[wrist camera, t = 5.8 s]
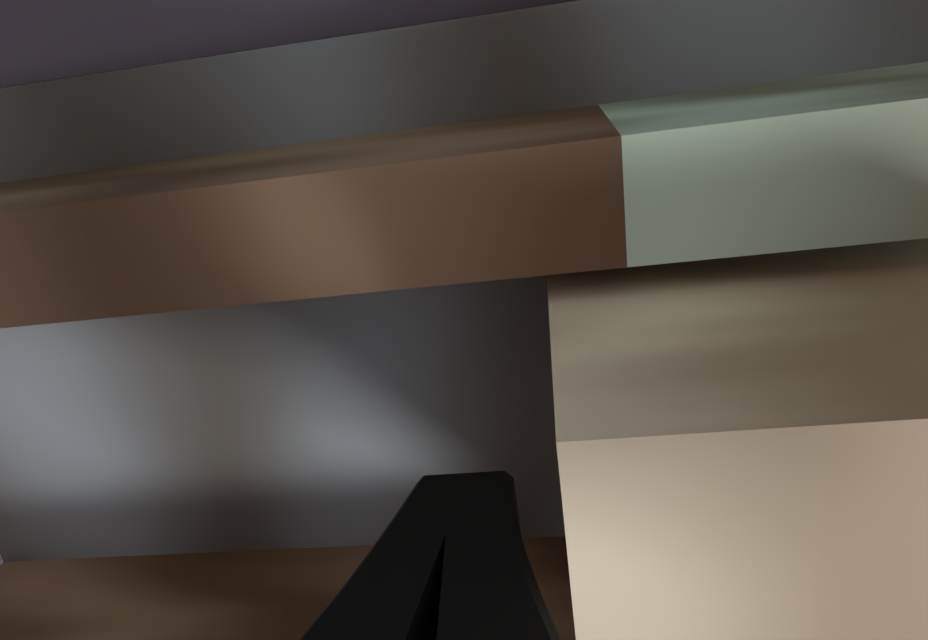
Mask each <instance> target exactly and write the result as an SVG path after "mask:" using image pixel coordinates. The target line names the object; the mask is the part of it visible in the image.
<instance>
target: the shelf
mask: <svg viewBox="0 0 928 640" xmlns="http://www.w3.org/2000/svg"><path fill="white" fill-rule="evenodd" d="M924 238H928V0H577V1H571V2H564V3H558V4H551V5H544V6H538V7H531V8H525V9H518V10H511V11H505V12H498V13H492V14H485V15H478V16H472V17H465V18H459V19H452V20H445V21H439V22H432V23H426V24H419V25H413V26H406V27H399V28H393V29H386V30H380V31H373V32H366V33H360V34H353V35H347V36H340V37H333V38H327V39H320V40H314V41H307V42H300V43H294V44H287V45H281V46H274V47H267V48H261V49H254V50H248V51H241V52H234V53H228V54H221V55H215V56H208V57H202V58H195V59H188V60H182V61H175V62H169V63H162V64H155V65H149V66H142V67H136V68H129V69H122V70H116V71H109V72H103V73H96V74H89V75H83V76H76V77H70V78H63V79H56V80H50V81H43V82H37V83H30V84H24V85H17V86H10V87H4V88H0V554H1V556H2V558H3V560H4V562H3V563H2V564H1V565H0V640H299V639H300V638H301V637H302V636H303V634H304V633H305V632H306V631H307V630H308V628H309V627H310V626H311V625H312V624H313V622H314V621H315V620H316V619H317V618H318V617H319V615H320V614H321V613H322V612H323V611H324V609H325V608H326V607H327V606H328V605H329V603H330V602H331V601H332V600H333V599H334V597H335V596H336V595H337V593H338V592H339V591H340V590H341V588H342V587H343V586H344V584H345V583H346V582H347V581H348V579H349V578H350V577H351V575H352V574H353V573H354V571H355V570H356V569H357V567H358V566H359V565H360V563H361V562H362V561H363V559H364V558H365V557H366V555H367V554H368V553H369V551H370V550H371V549H372V547H373V546H374V545H375V543H376V542H377V540H378V539H379V537H380V536H381V535H382V533H383V532H384V530H385V529H386V528H387V526H388V525H389V523H390V522H391V520H392V519H393V518H394V516H395V515H396V513H397V512H398V510H399V509H400V507H401V506H402V504H403V503H404V501H405V500H406V499H407V497H408V496H409V494H410V493H411V491H412V490H413V488H414V487H415V485H416V484H417V482H418V481H419V480H420V479H421V478H422V477H423V476H424V475H440V474H457V473H474V472H491V471H506V472H507V473H508V474H510V475H511V476H512V477H513V478H514V484H515V492H516V499H517V507H518V514H519V522H520V529H521V537H522V541H523V544H524V547H525V550H526V553H527V556H528V559H529V562H530V565H531V567H532V570H533V573H534V576H535V578H536V581H537V584H538V587H539V590H540V592H541V595H542V597H543V600H544V602H545V605H546V607H547V609H548V612H549V614H550V617H551V619H552V621H553V623H554V625H555V628H556V630H557V632H558V634H559V637H560V639H561V640H576V637H575V627H574V617H573V607H572V597H571V587H570V577H569V566H568V556H567V546H566V536H565V526H564V516H563V506H562V496H561V486H560V476H559V466H558V456H557V446H556V431H555V414H554V396H553V378H552V360H551V343H550V325H549V307H548V289H547V275H554V274H564V273H575V272H585V271H595V270H605V269H616V268H626V267H636V266H647V265H657V264H667V263H677V262H688V261H698V260H708V259H718V258H729V257H739V256H749V255H759V254H770V253H780V252H790V251H800V250H811V249H821V248H831V247H841V246H852V245H862V244H872V243H882V242H893V241H903V240H913V239H924Z"/></svg>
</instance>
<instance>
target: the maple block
mask: <svg viewBox="0 0 928 640" xmlns="http://www.w3.org/2000/svg"><path fill="white" fill-rule="evenodd" d="M547 289H548V307H549V325H550V343H551V360H552V378H553V396H554V414H555V431H556V446H557V456H558V466H559V476H560V486H561V496H562V506H563V516H564V526H565V536H566V546H567V556H568V566H569V577H570V587H571V597H572V607H573V617H574V627H575V637H576V640H928V238H924V239H913V240H903V241H893V242H882V243H872V244H862V245H852V246H841V247H831V248H821V249H811V250H800V251H790V252H780V253H770V254H759V255H749V256H739V257H729V258H718V259H708V260H698V261H688V262H677V263H667V264H657V265H647V266H636V267H626V268H616V269H605V270H595V271H585V272H575V273H564V274H554V275H547Z"/></svg>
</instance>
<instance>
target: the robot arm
mask: <svg viewBox="0 0 928 640" xmlns="http://www.w3.org/2000/svg"><path fill="white" fill-rule="evenodd" d="M299 640H561V639H560V637H559V634H558V632H557V630H556V628H555V625H554V623H553V621H552V619H551V617H550V614H549V612H548V609H547V607H546V605H545V602H544V600H543V597H542V595H541V592H540V590H539V587H538V584H537V581H536V578H535V576H534V573H533V570H532V567H531V565H530V562H529V559H528V556H527V553H526V550H525V547H524V544H523V541H522V537H521V529H520V522H519V514H518V507H517V499H516V492H515V484H514V478H513V477H512V476H511V475H510V474H508V473H507V472H506V471H491V472H474V473H457V474H440V475H424V476H423V477H422V478H421V479H420V480H419V481H418V482H417V484H416V485H415V487H414V488H413V490H412V491H411V493H410V494H409V496H408V497H407V499H406V500H405V501H404V503H403V504H402V506H401V507H400V509H399V510H398V512H397V513H396V515H395V516H394V518H393V519H392V520H391V522H390V523H389V525H388V526H387V528H386V529H385V530H384V532H383V533H382V535H381V536H380V537H379V539H378V540H377V542H376V543H375V545H374V546H373V547H372V549H371V550H370V551H369V553H368V554H367V555H366V557H365V558H364V559H363V561H362V562H361V563H360V565H359V566H358V567H357V569H356V570H355V571H354V573H353V574H352V575H351V577H350V578H349V579H348V581H347V582H346V583H345V584H344V586H343V587H342V588H341V590H340V591H339V592H338V593H337V595H336V596H335V597H334V599H333V600H332V601H331V602H330V603H329V605H328V606H327V607H326V608H325V609H324V611H323V612H322V613H321V614H320V615H319V617H318V618H317V619H316V620H315V621H314V622H313V624H312V625H311V626H310V627H309V628H308V630H307V631H306V632H305V633H304V634H303V636H302V637H301V638H300V639H299Z"/></svg>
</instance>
